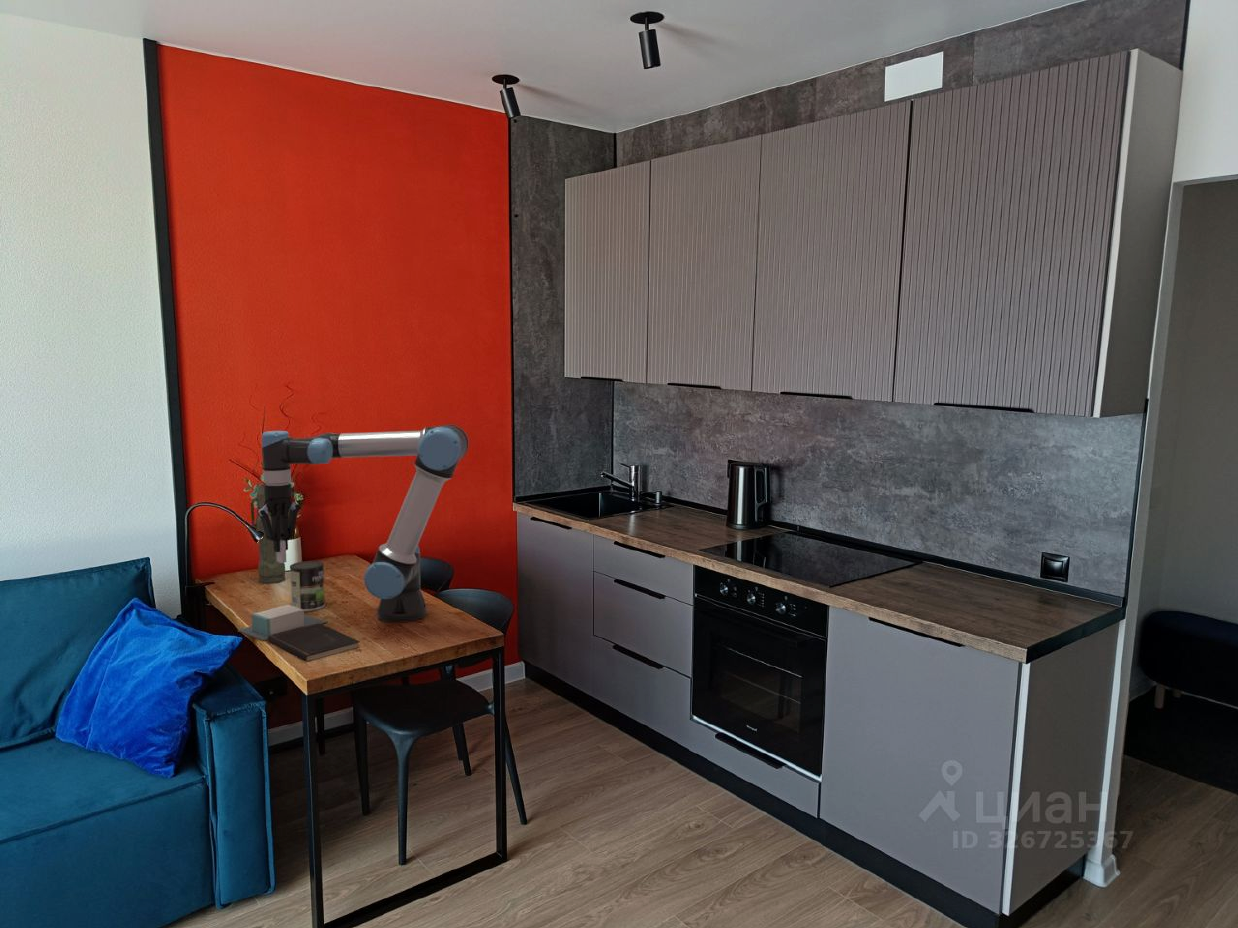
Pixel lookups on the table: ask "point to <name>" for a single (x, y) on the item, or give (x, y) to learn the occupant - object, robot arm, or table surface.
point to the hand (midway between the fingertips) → (281, 561)
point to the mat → (307, 622)
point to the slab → (277, 620)
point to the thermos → (266, 547)
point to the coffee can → (307, 585)
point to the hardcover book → (313, 641)
